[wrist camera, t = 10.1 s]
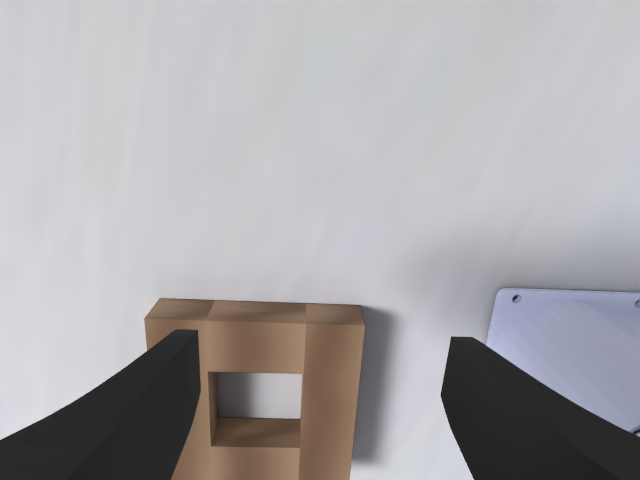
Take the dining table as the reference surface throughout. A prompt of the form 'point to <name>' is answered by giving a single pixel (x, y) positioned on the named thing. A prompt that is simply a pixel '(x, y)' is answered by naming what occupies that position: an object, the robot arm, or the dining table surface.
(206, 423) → the holder
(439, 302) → the dining table surface
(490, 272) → the dining table surface
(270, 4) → the dining table surface
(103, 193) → the dining table surface
